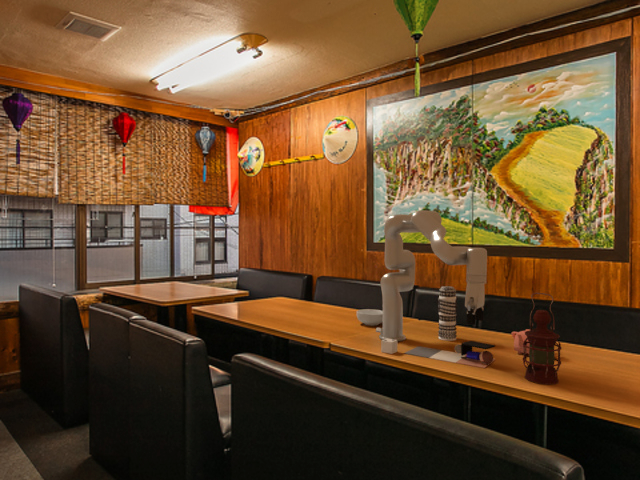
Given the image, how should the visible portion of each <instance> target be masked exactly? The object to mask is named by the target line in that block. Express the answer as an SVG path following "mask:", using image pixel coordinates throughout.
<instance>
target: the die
mask: <svg viewBox="0 0 640 480" xmlns="http://www.w3.org/2000/svg"><path fill="white" fill-rule="evenodd" d="M380 341H381V344H380V345H381V347H380V348H381V349H380V352H381V353H385V354H389V355H393V354H394V353H397V352H398V341H397V340H394V339H388V338H387V339H384V340H382V339H380Z"/></svg>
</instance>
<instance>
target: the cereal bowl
mask: <svg viewBox="0 0 640 480" xmlns="http://www.w3.org/2000/svg"><path fill="white" fill-rule="evenodd" d="M356 317H357V320H358V321H359V322H361V323H362V324H363V325H365V326H371V327H373V326H374V327H375V326H379V324H383V310H380V309H369V308H367V309H364V308H363V309H359V310H356Z"/></svg>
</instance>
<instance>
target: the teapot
mask: <svg viewBox="0 0 640 480" xmlns="http://www.w3.org/2000/svg"><path fill="white" fill-rule="evenodd" d="M530 330H531V329H530V328H529V329H527V328H526V329H525V330H520V331H512V332H511V337H512V338H513V341H514V342H513V348H514V351H515V352H517V354H518V355H523V354H524V347H523V343H524V341H525V339H526V338H527V336H526V335H525V332H526V331H530ZM527 342H528V340H527ZM526 346H530V343H527V345H526ZM526 354H527V355H529V348H526Z"/></svg>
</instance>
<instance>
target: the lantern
mask: <svg viewBox="0 0 640 480" xmlns="http://www.w3.org/2000/svg"><path fill="white" fill-rule="evenodd" d="M534 295H544V296H549V297H551V300H552V301H551V303H550V304H549V311H550V313H549V311H548V310H546V309H537V310H536V311H535V313H534V314H533V312H534V309H535V302H534V300H533V296H534ZM530 298H531V300H532V303H533V307H532V309H531V311H530V314H529V326H530V329H529V330H530V331H526V330H525V331H526V332H525V335H526V336H527V338H526V339H525V341H524V343H523V347H524V353H523V357H522V361H523V366H524V367H525V369H526V370H525V375H524V378H525V380H528V382H531V383H536V384H539V385H547V386H548V385H556V384H558V383H559V378H558V372H559V370H560V367H561V365H562V361H561V350H562V349H563V348H562V346H561V342H560V341H559V340H558V339H559V338H561V336H560V334H558V333H556V332H554V330H555V328H556V327H555V324H556V323H555V316H554V312H552V308H551V306H552V304H553V302H554V300H555V299H554V296H553V295H551V294H549V293H544V292H543V293H542V292H534V293H532V294H531V295H530ZM532 314H533V317H532ZM551 314H552V315H551ZM551 316H552V317H551ZM532 320H533V322H534V323H535V324H536V328H533V327H534V323H533V322H532ZM551 321H552V322H553V323H552V324H551ZM549 324H551V326H550V329H548V325H549ZM552 327H553V329H552ZM527 340H528V342H527ZM527 343H530V346H526V345H527ZM555 347H557V348H556V349H555ZM526 348H529V354H527V353H526ZM555 352H557V358H556V357H555ZM527 358H528V359H527ZM555 361H556V362H557V363H556V364H555ZM526 365H527V366H526Z"/></svg>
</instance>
